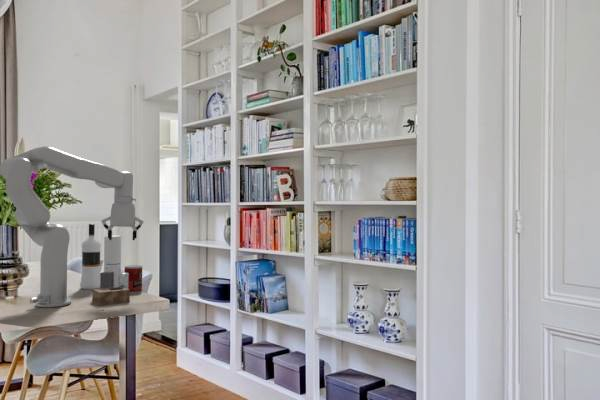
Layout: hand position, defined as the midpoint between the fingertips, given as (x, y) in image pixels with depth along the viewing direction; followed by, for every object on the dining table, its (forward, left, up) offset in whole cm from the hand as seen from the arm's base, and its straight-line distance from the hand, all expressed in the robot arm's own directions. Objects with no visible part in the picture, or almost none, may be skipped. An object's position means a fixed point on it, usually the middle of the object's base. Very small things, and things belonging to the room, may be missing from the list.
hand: (122, 239), depth 229 cm
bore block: (-13, -6, -24) cm, 28 cm away
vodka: (+9, +25, -24) cm, 36 cm away
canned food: (+13, +4, -24) cm, 28 cm away
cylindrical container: (+6, +10, -24) cm, 27 cm away
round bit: (-2, -3, -24) cm, 24 cm away
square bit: (-3, +5, -24) cm, 25 cm away
